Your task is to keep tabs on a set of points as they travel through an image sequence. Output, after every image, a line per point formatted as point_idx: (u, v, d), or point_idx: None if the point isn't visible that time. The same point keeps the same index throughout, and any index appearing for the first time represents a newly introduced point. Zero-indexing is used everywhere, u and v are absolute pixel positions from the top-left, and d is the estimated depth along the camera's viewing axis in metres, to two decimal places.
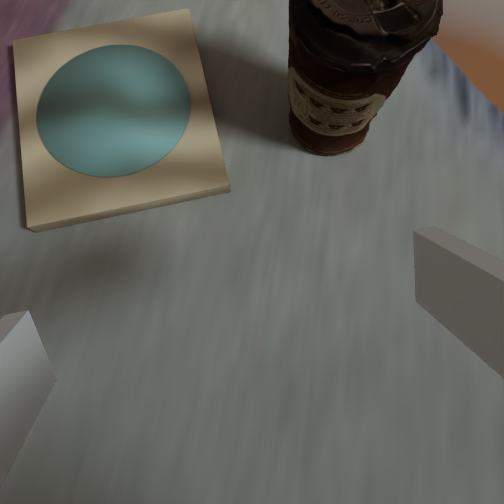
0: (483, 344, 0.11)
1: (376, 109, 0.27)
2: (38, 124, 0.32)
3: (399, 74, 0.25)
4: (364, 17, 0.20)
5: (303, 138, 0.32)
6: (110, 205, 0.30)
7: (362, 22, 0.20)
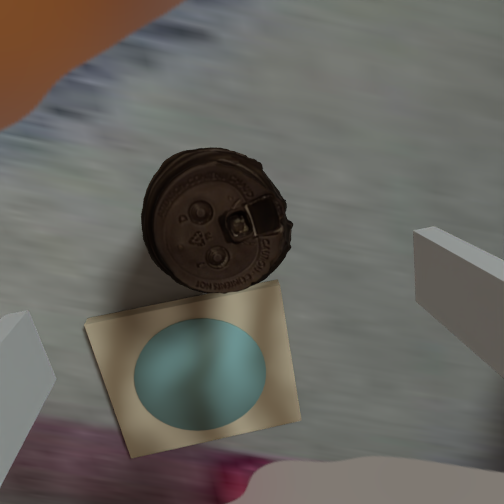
0: (483, 344, 0.11)
1: None
2: (217, 427, 0.40)
3: None
4: (263, 244, 0.22)
5: None
6: (289, 369, 0.39)
7: (269, 247, 0.22)
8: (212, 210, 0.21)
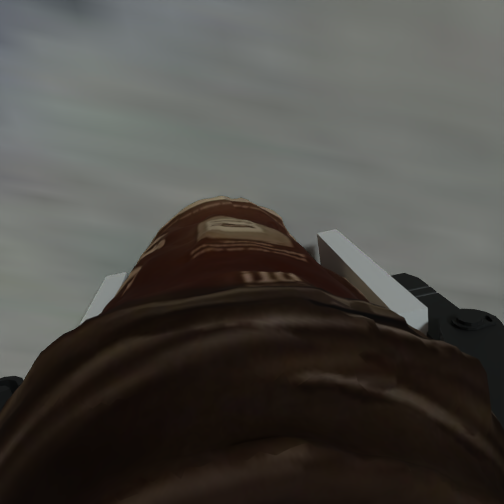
0: None
1: None
2: None
3: None
4: None
5: None
6: None
7: None
8: None
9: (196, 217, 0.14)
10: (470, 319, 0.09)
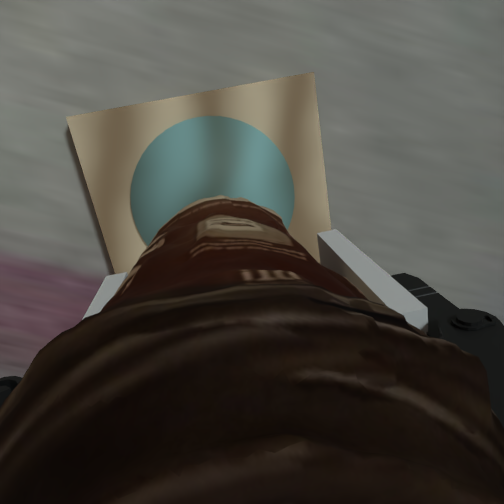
0: None
1: None
2: None
3: None
4: None
5: None
6: (323, 197, 0.31)
7: None
8: None
9: (195, 216, 0.14)
10: (470, 319, 0.09)
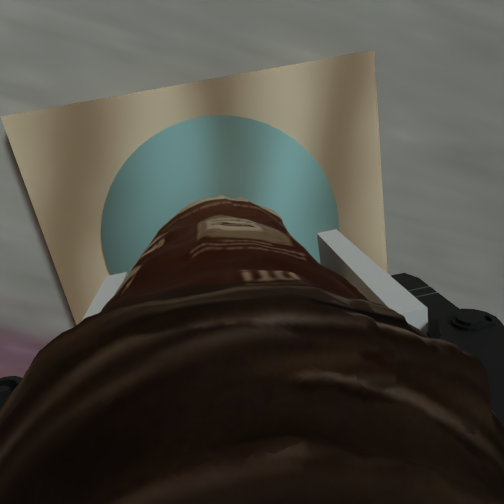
0: None
1: None
2: None
3: None
4: None
5: None
6: (379, 232, 0.22)
7: None
8: None
9: (195, 217, 0.14)
10: (470, 319, 0.09)
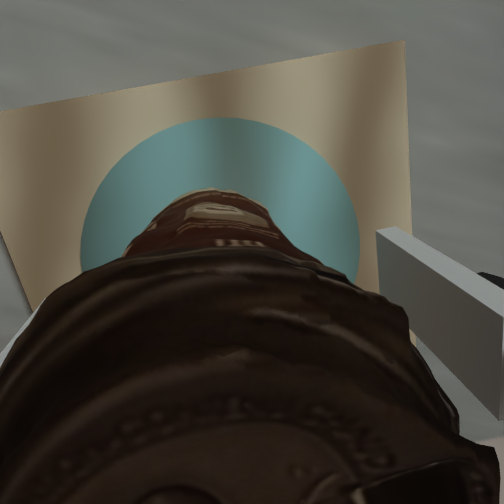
0: (433, 337, 0.12)
1: None
2: None
3: None
4: None
5: None
6: None
7: None
8: None
9: (187, 206, 0.16)
10: None
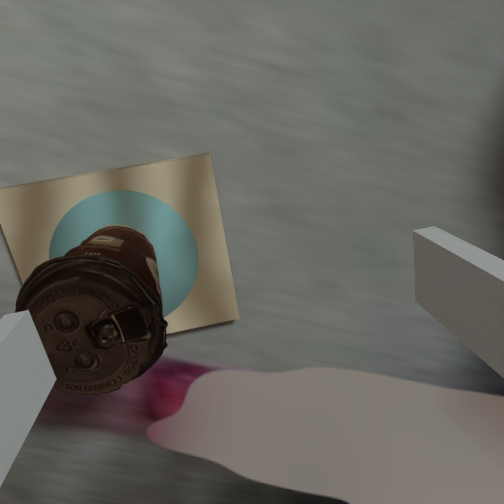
0: (483, 344, 0.11)
1: (149, 264, 0.29)
2: None
3: (136, 268, 0.26)
4: (131, 350, 0.23)
5: None
6: (224, 257, 0.36)
7: (138, 352, 0.23)
8: (78, 319, 0.22)
9: (101, 233, 0.32)
10: None
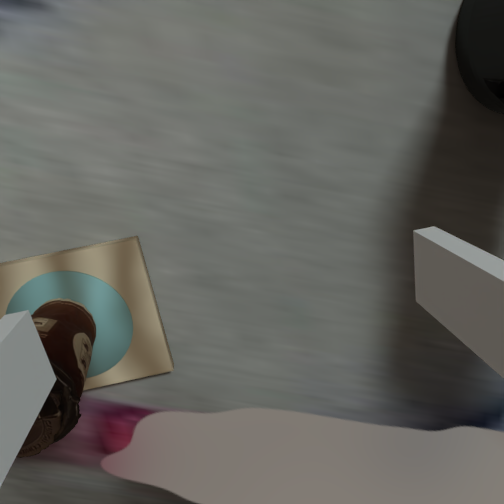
0: (483, 344, 0.11)
1: (77, 341, 0.35)
2: (91, 376, 0.43)
3: (59, 351, 0.32)
4: (46, 424, 0.29)
5: None
6: (156, 321, 0.42)
7: (51, 426, 0.29)
8: None
9: (45, 308, 0.38)
10: None
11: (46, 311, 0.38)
